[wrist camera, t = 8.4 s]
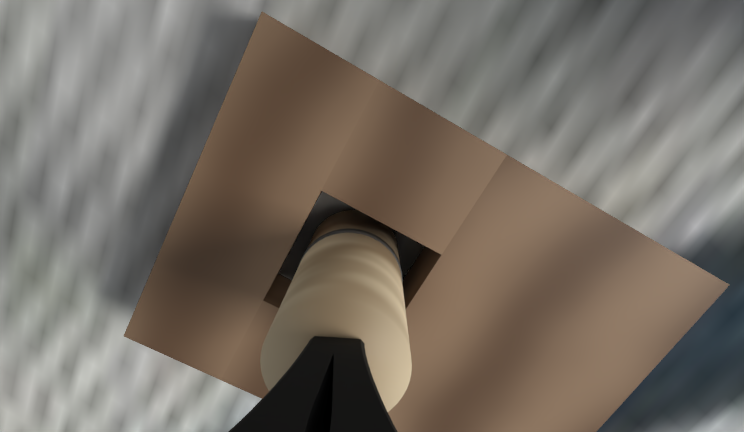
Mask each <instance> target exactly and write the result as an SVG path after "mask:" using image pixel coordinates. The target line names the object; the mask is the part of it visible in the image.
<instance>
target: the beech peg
mask: <svg viewBox="0 0 744 432" xmlns="http://www.w3.org/2000/svg"><path fill="white" fill-rule="evenodd" d="M402 283H403V279H402V270H401V266H400V260H399V251H398V244H397V240H396V238H395V235H394V233H393V231H392V230H391V228H390V227H389V226H387V225H385V224H383V223H381V222H379V221H377V220H375V219H374V218H372V217H370V216H368V215H366V214H364V213H362V212H360V211H359V210H346V211H341V212H338V213H335V214H333V215H331V216H329V217H328V218H327V219H325V220H324V221H323V222H322V223H321V224H320V225H319V226H318V228H317V229H316V231H315V232H314V234H313V237H312V239H311V241H310V243H309V245H308V247H307V249H306V251H305V253H304V254H303V256H302V258H301V261H300V263H299V266H298V269H297V271H296V273H295V275H294V278H293V280H292V282H291V284H290V286H289V288H288V290H287V293H286V295H285V297H284V299H283V301H282V303H281V306H280V308H279V310H278V312H277V314H276V316H275V318H274V321H273V323H272V325H271V327H270V329H269V331H268V334H267V336H266V338H265V340H264V343H263V346H262V350H261V358H260V364H261V372H262V376H263V379H264V382H265V385H266V387H267V388H268V390H269V391H270V390H271V389H272V388H273V387H274V386H275V385H276V383H277V382H278V381H279V380H280V379H281V377H282V376H283V375H284V374H285V373H286V371H287V370H288V369H289V368H290V367H291V365H292V364H293V363H294V362H295V360H296V359H297V358H298V356H299V355H300V354H301V352H302V351H303V349H304V348H305V347H306V345H307V344H308V342H309V340H310V339H311V338H313V337H314V336H324V337H338V338H352V339H361V340H362V341H363V342H364V343H365V352H366V357H367V361H368V364H369V367H370V371H371V374H372V377H373V379H374V382H375V384H376V387H377V389H378V392H379V394H380V397H381V399H382V401H383V403H384V406H385V408H386V410H387V412H389V411H390V410H391V409H392V408H393V407H394V406H395V405H396V404H397V403H398V402H399V401H400V399H401V398H402V397H403V395H404V393H405V391H406V390H407V387H408V385H409V382H410V378H411V371H412V361H411V352H410V344H409V335H408V327H407V318H406V310H405V302H404V293H403V285H402Z"/></svg>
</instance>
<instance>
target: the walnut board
mask: <svg viewBox="0 0 744 432" xmlns="http://www.w3.org/2000/svg"><path fill="white" fill-rule="evenodd" d="M322 191H323V192H325V193H327V194H329V195H331V196H332V197H334V198H336V199H338V200H340V201H342V202H344V203H345V204H347V205H349V206H351V207H353V208H355V209H357V210H359V211H360V212H362V213H364V214H366V215H368V216H370V217H372V218H374V219H375V220H377V221H379V222H381V223H383V224H385V225H387V226H389V227H390V228H392V229H394V230H396V231H398V232H400V233H402V234H404V235H405V236H407V237H409V238H411V239H413V240H415V241H417V242H419V243H420V244H422V245H424V246H425V247H424V249H423V250H422V252H421V253H420V255H419V256H418V258H417V259H416V261H415V263H414V264H413V266H412V267H411V269H410V270H409V272H408V274H407V275H406V277H405V278H404V280H403V283H402V285H403V293H404V302H405V310H406V318H407V327H408V335H409V344H410V352H411V361H412V371H411V378H410V382H409V385H408V387H407V390H406V391H405V393H404V395H403V397H402V398H401V399H400V401H399V402H398V403H397V404H396V405H395V406H394V407H393V408H392V409H391V410H390V411H389V412H388V414H389V416H390V418H391V420H392V422H393V424H394V426H395V428H396V430H397V432H596V431H597V430H598V429H599V428H600V427H601V426H602V425H603V424H604V423H605V421H606V420H607V419H608V418H609V417H610V416H611V415H612V414H613V413H614V412H615V410H616V409H617V408H618V407H619V406H620V405H621V404H622V403H623V402H624V401H625V399H626V398H627V397H628V396H629V395H630V394H631V393H632V392H633V391H634V390H635V388H636V387H637V386H638V385H639V384H640V383H641V382H642V381H643V380H644V379H645V377H646V376H647V375H648V374H649V373H650V372H651V371H652V370H653V369H654V368H655V366H656V365H657V364H658V363H659V362H660V361H661V360H662V359H663V358H664V357H665V355H666V354H667V353H668V352H669V351H670V350H671V349H672V348H673V347H674V346H675V344H676V343H677V342H678V341H679V340H680V339H681V338H682V337H683V336H684V335H685V333H686V332H687V331H688V330H689V329H690V328H691V327H692V326H693V325H694V324H695V322H696V321H697V320H698V319H699V318H700V317H701V316H702V315H703V314H704V313H705V311H706V310H707V309H708V308H709V307H710V306H711V305H712V304H713V303H714V302H715V300H716V299H717V298H718V297H719V296H720V295H721V294H722V293H723V292H724V291H725V289H726V288H727V287H728V286H729V284H727V283H725V282H724V281H722V280H720V279H719V278H717V277H715V276H713V275H712V274H710V273H708V272H707V271H705V270H703V269H701V268H700V267H698V266H696V265H695V264H693V263H691V262H689V261H688V260H686V259H684V258H683V257H681V256H679V255H677V254H676V253H674V252H672V251H671V250H669V249H667V248H665V247H664V246H662V245H660V244H659V243H657V242H655V241H654V240H652V239H650V238H648V237H647V236H645V235H643V234H642V233H640V232H638V231H636V230H635V229H633V228H631V227H630V226H628V225H626V224H624V223H623V222H621V221H619V220H618V219H616V218H614V217H612V216H611V215H609V214H607V213H606V212H604V211H602V210H600V209H599V208H597V207H595V206H594V205H592V204H590V203H589V202H587V201H585V200H583V199H582V198H580V197H578V196H577V195H575V194H573V193H571V192H570V191H568V190H566V189H565V188H563V187H561V186H559V185H558V184H556V183H554V182H553V181H551V180H549V179H547V178H546V177H544V176H542V175H541V174H539V173H537V172H535V171H534V170H532V169H530V168H529V167H527V166H525V165H524V164H522V163H520V162H518V161H517V160H515V159H513V158H512V157H510V156H508V155H506V154H505V153H503V152H501V151H500V150H498V149H496V148H494V147H493V146H491V145H489V144H488V143H486V142H484V141H482V140H481V139H479V138H477V137H476V136H474V135H472V134H470V133H469V132H467V131H465V130H464V129H462V128H460V127H459V126H457V125H455V124H453V123H452V122H450V121H448V120H447V119H445V118H443V117H441V116H440V115H438V114H436V113H435V112H433V111H431V110H429V109H428V108H426V107H424V106H423V105H421V104H419V103H417V102H416V101H414V100H412V99H411V98H409V97H407V96H405V95H404V94H402V93H400V92H399V91H397V90H395V89H394V88H392V87H390V86H388V85H387V84H385V83H383V82H382V81H380V80H378V79H376V78H375V77H373V76H371V75H370V74H368V73H366V72H364V71H363V70H361V69H359V68H358V67H356V66H354V65H352V64H351V63H349V62H347V61H346V60H344V59H342V58H340V57H339V56H337V55H335V54H334V53H332V52H330V51H329V50H327V49H325V48H323V47H322V46H320V45H318V44H317V43H315V42H313V41H311V40H310V39H308V38H306V37H305V36H303V35H301V34H299V33H298V32H296V31H294V30H293V29H291V28H289V27H287V26H286V25H284V24H282V23H281V22H279V21H277V20H275V19H274V18H272V17H270V16H269V15H267V14H265V13H264V12H261V15H260V17H259V19H258V22H257V24H256V26H255V29H254V31H253V33H252V36H251V38H250V41H249V43H248V45H247V48H246V50H245V52H244V55H243V57H242V59H241V62H240V64H239V66H238V69H237V71H236V73H235V76H234V78H233V80H232V83H231V85H230V87H229V90H228V92H227V95H226V97H225V99H224V102H223V104H222V106H221V109H220V111H219V113H218V116H217V118H216V120H215V123H214V125H213V127H212V130H211V132H210V134H209V137H208V139H207V141H206V144H205V146H204V149H203V151H202V153H201V156H200V158H199V160H198V163H197V165H196V167H195V170H194V172H193V174H192V177H191V179H190V181H189V184H188V186H187V188H186V191H185V193H184V196H183V198H182V200H181V203H180V205H179V207H178V210H177V212H176V214H175V217H174V219H173V221H172V224H171V226H170V228H169V231H168V233H167V235H166V238H165V240H164V242H163V245H162V247H161V250H160V252H159V254H158V257H157V259H156V261H155V264H154V266H153V268H152V271H151V273H150V275H149V278H148V280H147V282H146V285H145V287H144V289H143V292H142V294H141V296H140V299H139V301H138V304H137V306H136V308H135V311H134V313H133V315H132V318H131V320H130V322H129V325H128V327H127V329H126V332H125V334H124V337H127V338H129V339H131V340H133V341H136V342H138V343H140V344H142V345H144V346H147V347H149V348H151V349H153V350H155V351H158V352H160V353H162V354H164V355H167V356H169V357H171V358H173V359H175V360H178V361H180V362H182V363H184V364H187V365H189V366H191V367H193V368H195V369H198V370H200V371H202V372H204V373H207V374H209V375H211V376H213V377H215V378H218V379H220V380H222V381H224V382H226V383H229V384H231V385H233V386H235V387H238V388H240V389H242V390H244V391H246V392H249V393H251V394H253V395H255V396H258V397H260V398H262V399H263V398H264V396H265V395H266V394H267V393H268V392H269V390H268V388H267V387H266V385H265V382H264V379H263V376H262V372H261V364H260V358H261V350H262V346H263V343H264V340H265V338H266V336H267V334H268V331H269V329H270V327H271V325H272V323H273V321H274V318H275V316H276V314H277V312H278V310H279V308H280V306H281V303H282V301H283V299H284V297H285V295H286V293H287V290H288V288H289V286H290V284H291V282H292V281H291V280H289V279H287V278H285V277H283V276H281V275H279V274H278V273H279V271H280V269H281V267H282V265H283V263H284V261H285V259H286V258H287V256H288V254H289V252H290V250H291V248H292V246H293V244H294V242H295V241H296V239H297V237H298V235H299V233H300V231H301V229H302V227H303V226H304V224H305V222H306V220H307V218H308V216H309V214H310V212H311V210H312V209H313V207H314V205H315V203H316V201H317V199H318V197H319V195H320V193H321V192H322Z"/></svg>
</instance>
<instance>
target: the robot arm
mask: <svg viewBox="0 0 744 432" xmlns="http://www.w3.org/2000/svg"><path fill="white" fill-rule="evenodd" d="M229 432H397V430H396V428H395V426H394V424H393V422H392V420H391V418H390V416H389V414H388V412H387V410H386V408H385V406H384V403H383V401H382V399H381V397H380V394H379V392H378V389H377V387H376V384H375V382H374V379H373V377H372V374H371V371H370V367H369V364H368V361H367V357H366V352H365V343H364V342H363V341H362V340H361V339H352V338H338V337H324V336H314V337H313V338H311V339H310V340H309V342H308V344H307V345H306V347H305V348H304V349H303V351H302V352H301V354H300V355H299V356H298V358H297V359H296V360H295V362H294V363H293V364H292V365H291V367H290V368H289V369H288V370H287V371H286V373H285V374H284V375H283V376H282V377H281V379H280V380H279V381H278V382H277V383H276V385H275V386H274V387H273V388H272V389H271V390H270V391H269V392H268V393H267V394H266V395H265V396H264V398H263V399H262V400H261V401H260V402H259V403H258V404H257V405H256V406H255V407H254V408H253V409H252V410H251V411H250V412H249V413H248V414H247V415H246V416H245V417H244V418H243V419H242V420H241V421H240V422H239V423H238V424H236V425H235V426H234V427H233V428H232V429H231V430H230V431H229Z"/></svg>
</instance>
